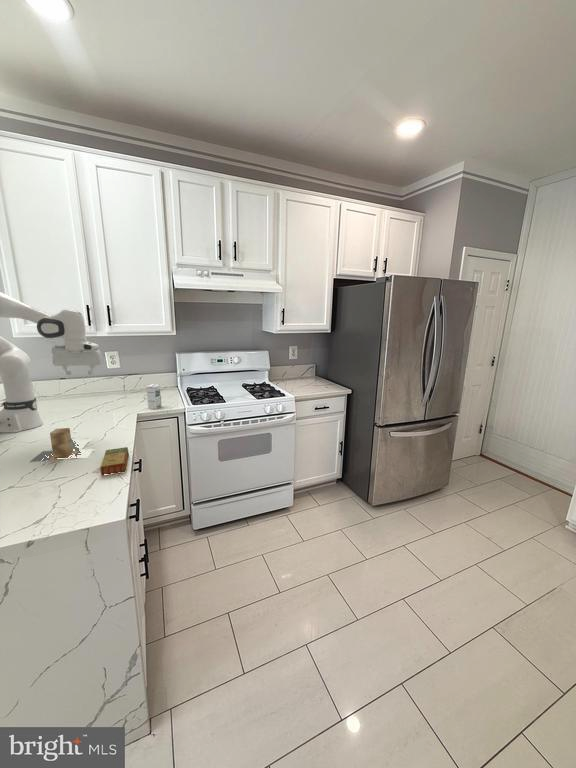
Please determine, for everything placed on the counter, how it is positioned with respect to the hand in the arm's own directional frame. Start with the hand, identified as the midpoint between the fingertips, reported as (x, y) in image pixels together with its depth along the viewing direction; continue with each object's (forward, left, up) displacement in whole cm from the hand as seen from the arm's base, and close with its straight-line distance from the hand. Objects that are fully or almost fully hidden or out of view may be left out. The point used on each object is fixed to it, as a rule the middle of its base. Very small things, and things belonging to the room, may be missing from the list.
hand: (79, 374), depth 150 cm
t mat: (+1, -19, -29) cm, 35 cm away
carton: (+24, -39, -30) cm, 55 cm away
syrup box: (+24, +39, -29) cm, 54 cm away
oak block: (+1, -27, -29) cm, 40 cm away
